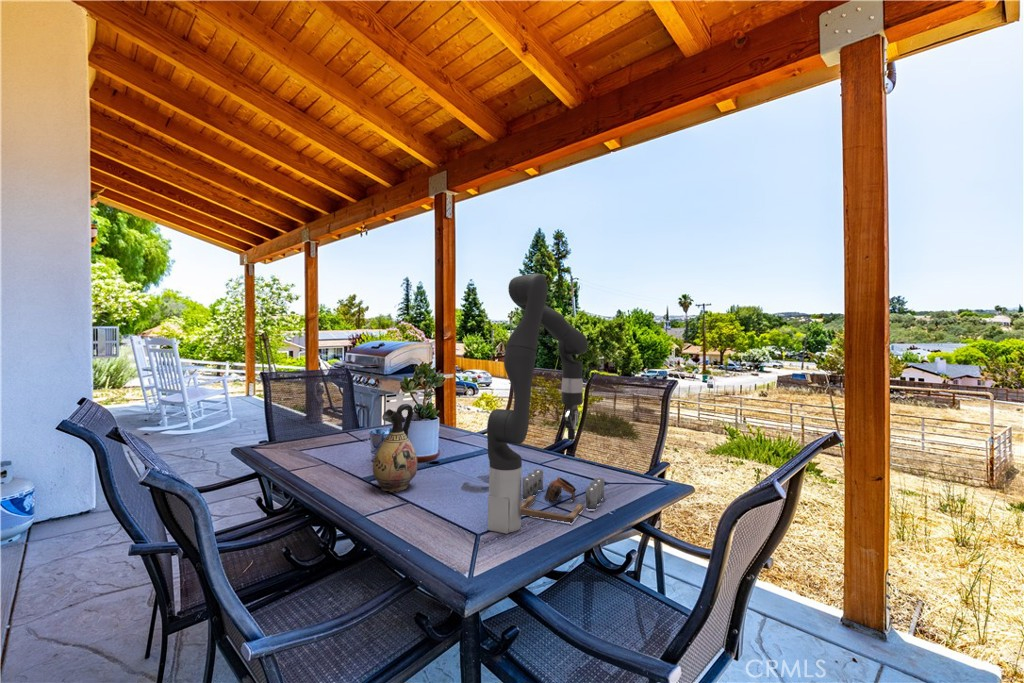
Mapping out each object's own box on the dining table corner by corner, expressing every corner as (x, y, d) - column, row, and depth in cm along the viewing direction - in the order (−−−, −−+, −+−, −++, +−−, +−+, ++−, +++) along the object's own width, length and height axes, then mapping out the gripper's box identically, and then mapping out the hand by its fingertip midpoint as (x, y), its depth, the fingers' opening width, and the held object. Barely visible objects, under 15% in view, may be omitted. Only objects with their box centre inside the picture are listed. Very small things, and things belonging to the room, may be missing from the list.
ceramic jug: (391, 498, 148) (392, 408, 148) (363, 489, 157) (365, 404, 157) (429, 486, 161) (431, 403, 161) (402, 478, 170) (403, 400, 171)
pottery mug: (547, 495, 156) (559, 474, 156) (569, 511, 151) (582, 490, 152) (536, 496, 145) (549, 474, 145) (560, 514, 141) (573, 492, 141)
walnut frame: (571, 525, 128) (571, 518, 128) (515, 514, 136) (515, 507, 136) (583, 511, 140) (583, 504, 140) (530, 501, 147) (530, 495, 147)
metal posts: (595, 512, 138) (595, 490, 138) (520, 499, 149) (520, 478, 149) (605, 499, 150) (605, 478, 151) (535, 488, 161) (535, 468, 161)
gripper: (577, 393, 150) (576, 444, 150) (587, 389, 162) (586, 437, 162) (556, 391, 153) (555, 442, 153) (567, 388, 165) (566, 435, 165)
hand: (571, 439), depth 158 cm, fingers closed
